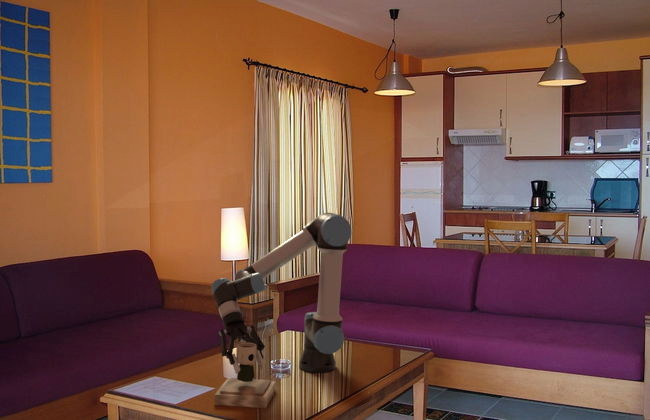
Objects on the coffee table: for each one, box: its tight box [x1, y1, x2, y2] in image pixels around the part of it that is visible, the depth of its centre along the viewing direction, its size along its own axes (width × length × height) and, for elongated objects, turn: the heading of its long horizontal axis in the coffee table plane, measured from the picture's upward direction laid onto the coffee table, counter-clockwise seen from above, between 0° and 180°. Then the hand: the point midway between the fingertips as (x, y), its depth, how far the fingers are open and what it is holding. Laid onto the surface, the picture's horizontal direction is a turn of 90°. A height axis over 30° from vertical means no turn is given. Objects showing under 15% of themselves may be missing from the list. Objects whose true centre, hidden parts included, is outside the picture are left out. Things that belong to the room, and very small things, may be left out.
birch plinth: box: [214, 377, 276, 409], centre depth 240 cm, size 18×18×4 cm
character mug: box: [235, 342, 257, 382], centre depth 239 cm, size 11×7×13 cm, turn 158°
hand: (250, 369), depth 237 cm, fingers closed on character mug, 9 cm apart
